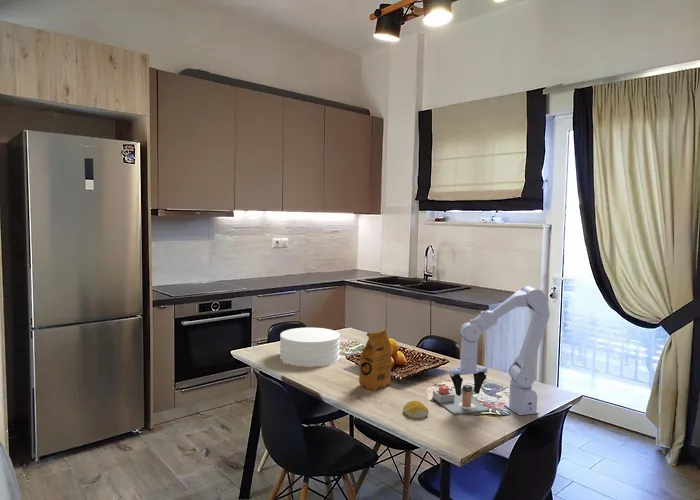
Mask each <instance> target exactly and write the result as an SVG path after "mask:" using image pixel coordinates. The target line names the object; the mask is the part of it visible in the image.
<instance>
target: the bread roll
mask: <svg viewBox="0 0 700 500" xmlns="http://www.w3.org/2000/svg"><path fill="white" fill-rule="evenodd" d="M402 409H403V413H404V414H405V415H406V417H409V418H412V419H424V418H426V417H427V416H428V415H429V409H428V408H427V406H425V405H424V404H423V403H422V402H421V401H418V400H411V401H408V402H406V403H405V404H404V405H403V408H402Z"/></svg>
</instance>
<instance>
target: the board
mask: <svg viewBox="0 0 700 500" xmlns="http://www.w3.org/2000/svg"><path fill="white" fill-rule="evenodd" d="M431 399H433V400H434V401H436V402H437V403H438V404H439V405H441V406H442V407H443V408H444V409H445V410H447V411H448V412H449V413H450V414H452V415H453V416H458V415H459V416H460V415H467V414H476V413H482V412H483V413H484V412H490V409H489V408H487V407H486V406H484V404H481V402H478V401H477V400H476V399H474V398H473V397H471V407H464V406H462V393H461V395H460V396H458V395H457V394H456V393H455V394H454V392H451V390H449V394H447V395H441V394H439V389H435V390H432V398H431Z"/></svg>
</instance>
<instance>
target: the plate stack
mask: <svg viewBox="0 0 700 500" xmlns="http://www.w3.org/2000/svg"><path fill="white" fill-rule="evenodd" d="M279 337H280V340H279V342H280V343H279V344H280V345H279V348H280V350H279V354H280V355H279V360H280V359H281V360H282V361H283V362H285V363H284V364H286V363H288V364H292V365H297V366H296V367H298V366H321V367H324V366H323V365H327V366H329V365H328V364H331V365H333V364H332V363H334V364H335V362H336V361H338V360H340V348H341V345H340V344H341V334H340V332H339V331H336V330H333V329H330V328H324V327H296V328H289V329H286V330H283V331H281V332H280V335H279ZM281 360H280V361H281ZM282 361H281V362H282ZM283 362H282V363H283ZM338 362H339V361H338ZM336 363H337V362H336ZM288 364H287V365H288ZM292 365H291V366H292Z"/></svg>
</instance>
